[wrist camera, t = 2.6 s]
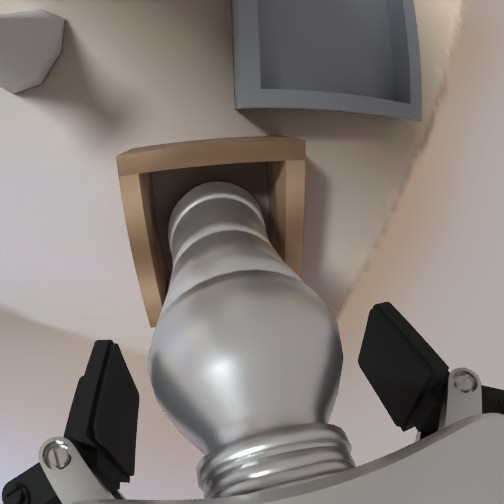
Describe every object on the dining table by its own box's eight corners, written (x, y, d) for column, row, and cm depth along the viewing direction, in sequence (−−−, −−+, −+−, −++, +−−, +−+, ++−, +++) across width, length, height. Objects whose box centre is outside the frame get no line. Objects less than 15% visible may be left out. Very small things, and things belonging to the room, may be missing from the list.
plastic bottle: (272, 200, 22) (468, 434, 5) (228, 271, 24) (303, 534, 6) (197, 159, 20) (243, 457, 2) (155, 238, 22) (115, 535, 4)
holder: (131, 148, 19) (116, 156, 15) (283, 136, 20) (305, 140, 16) (155, 293, 24) (150, 327, 20) (282, 278, 26) (299, 308, 22)
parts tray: (230, -77, 11) (235, -96, 8) (381, -48, 13) (399, -58, 11) (235, 109, 19) (241, 107, 16) (398, 118, 21) (421, 121, 18)
